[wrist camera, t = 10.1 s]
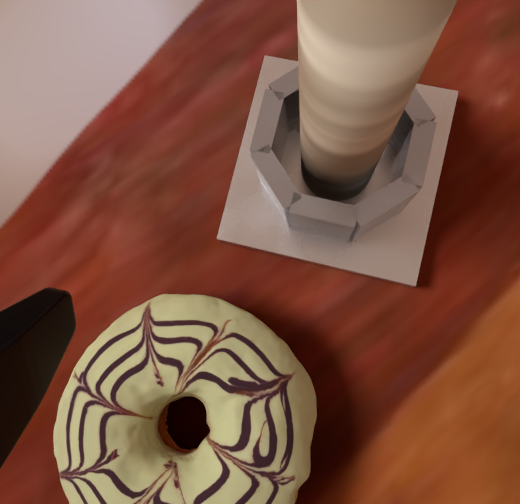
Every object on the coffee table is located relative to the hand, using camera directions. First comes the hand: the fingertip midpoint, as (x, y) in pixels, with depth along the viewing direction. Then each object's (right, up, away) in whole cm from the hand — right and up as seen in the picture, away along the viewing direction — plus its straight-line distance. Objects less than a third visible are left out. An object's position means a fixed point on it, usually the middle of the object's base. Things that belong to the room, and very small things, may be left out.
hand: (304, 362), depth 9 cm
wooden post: (+3, +6, +13) cm, 15 cm away
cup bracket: (+3, +6, +14) cm, 16 cm away
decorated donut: (-4, -5, +14) cm, 15 cm away
